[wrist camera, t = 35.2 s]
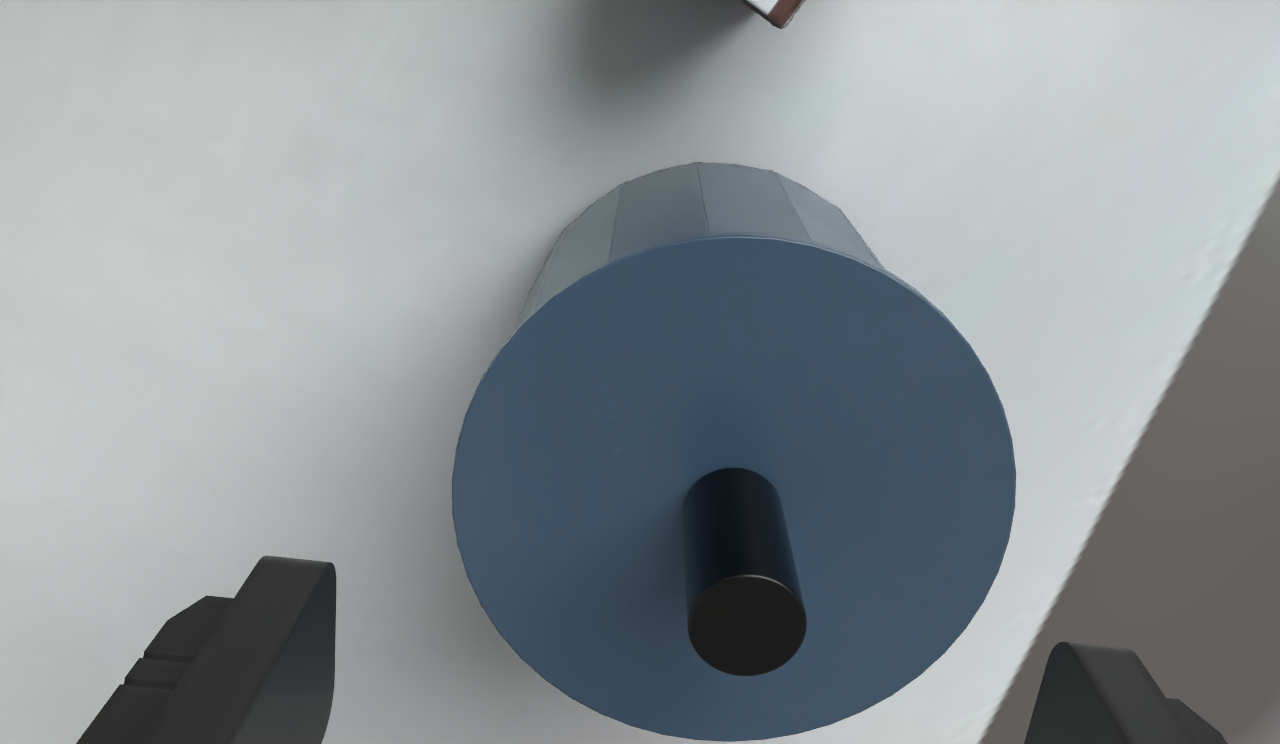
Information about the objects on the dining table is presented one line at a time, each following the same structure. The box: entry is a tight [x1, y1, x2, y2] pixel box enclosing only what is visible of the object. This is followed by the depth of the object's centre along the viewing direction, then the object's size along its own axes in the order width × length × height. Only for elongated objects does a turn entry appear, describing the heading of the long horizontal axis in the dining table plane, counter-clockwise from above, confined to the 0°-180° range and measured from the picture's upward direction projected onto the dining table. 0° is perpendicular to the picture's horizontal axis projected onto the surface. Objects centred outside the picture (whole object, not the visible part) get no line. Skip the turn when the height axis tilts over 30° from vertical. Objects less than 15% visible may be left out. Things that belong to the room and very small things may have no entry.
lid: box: [452, 231, 1016, 742], centre depth 25 cm, size 14×14×6 cm
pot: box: [514, 162, 885, 331], centre depth 33 cm, size 13×13×12 cm
